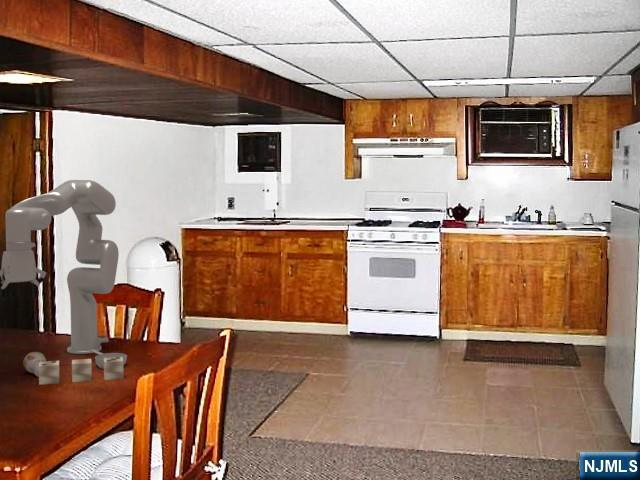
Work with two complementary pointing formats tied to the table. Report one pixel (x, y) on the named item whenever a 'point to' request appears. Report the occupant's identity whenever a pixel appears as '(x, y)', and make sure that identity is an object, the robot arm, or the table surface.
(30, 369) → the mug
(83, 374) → the plain block
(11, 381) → the table surface
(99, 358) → the small pan
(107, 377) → the pip block
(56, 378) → the pip block
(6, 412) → the table surface
